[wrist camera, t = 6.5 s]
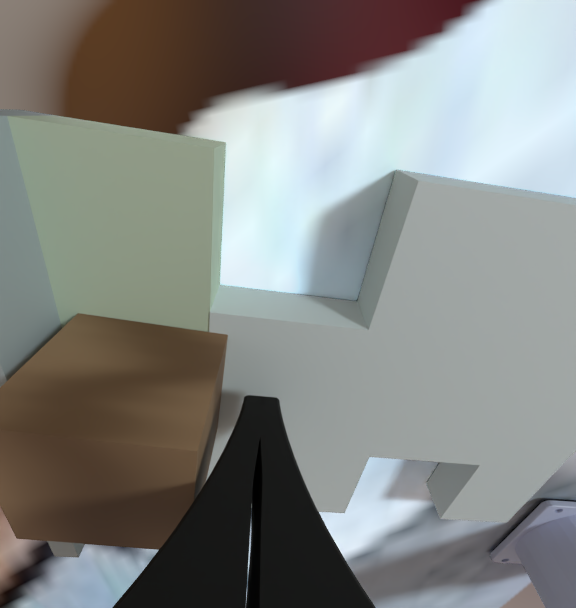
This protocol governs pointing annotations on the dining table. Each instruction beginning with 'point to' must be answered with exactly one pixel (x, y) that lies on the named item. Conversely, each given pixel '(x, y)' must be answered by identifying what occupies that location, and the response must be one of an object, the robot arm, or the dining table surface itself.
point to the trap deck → (313, 309)
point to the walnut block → (110, 432)
